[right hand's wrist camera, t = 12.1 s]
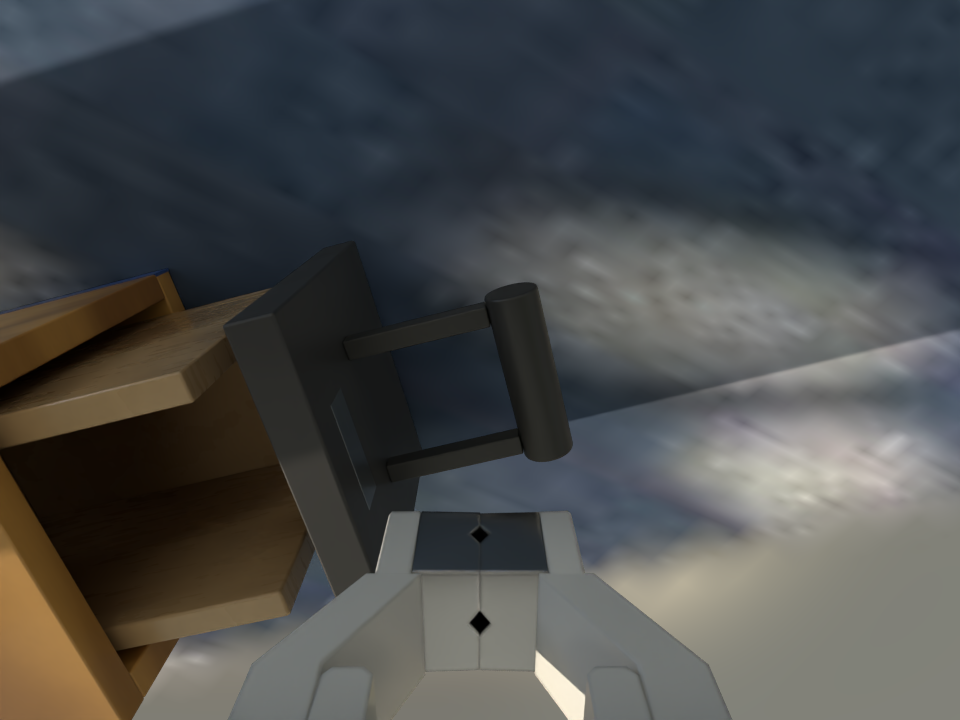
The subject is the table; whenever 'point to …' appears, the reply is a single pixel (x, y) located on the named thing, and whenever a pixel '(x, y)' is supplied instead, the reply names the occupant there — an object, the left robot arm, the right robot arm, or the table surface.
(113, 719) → the cabinet
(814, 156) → the table surface
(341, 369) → the drawer
